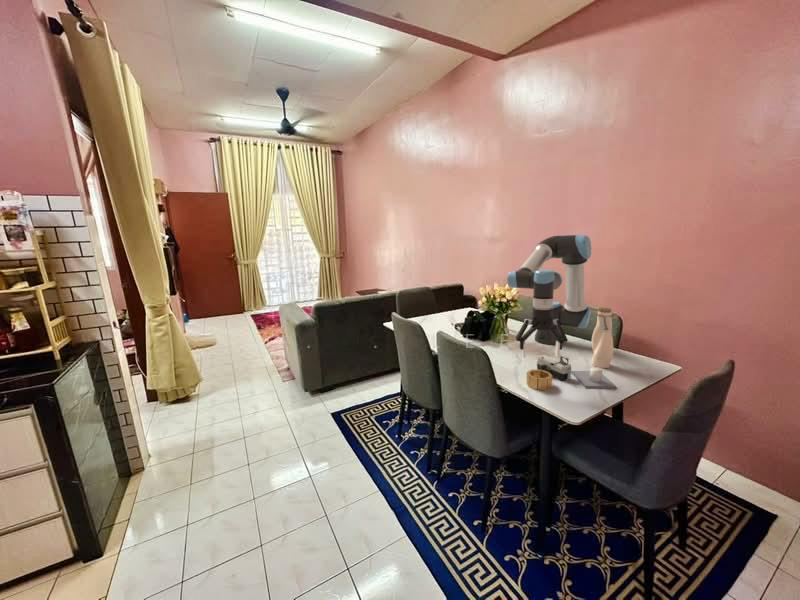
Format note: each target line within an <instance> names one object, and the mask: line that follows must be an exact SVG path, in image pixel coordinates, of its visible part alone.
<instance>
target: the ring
mask: <svg viewBox="0 0 800 600" xmlns="http://www.w3.org/2000/svg"><path fill="white" fill-rule="evenodd" d="M553 379H554V378H553V376H552V375H551V373H549V372H547V371H544V370H538V369H529V370H528V371H526V381H525V382H526V385H527V387H529V388H530V389H533V390H536V391H549V390H551V389H552V388H553Z"/></svg>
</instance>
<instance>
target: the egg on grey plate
mask: <svg viewBox="0 0 800 600" xmlns="http://www.w3.org/2000/svg"><path fill="white" fill-rule="evenodd" d="M589 369H590V370H571V375H572V376H573V377H575V379H576V380H577V381H578V382H579V383H580V384H581V385H582V386H583V387H584V389H617V385H616V384H614V382H612V381H611V380H610V379H609V378H608V377H606V376H605V375H604V374H603V369H602V368H600V367H590V368H589Z"/></svg>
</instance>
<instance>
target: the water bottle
mask: <svg viewBox="0 0 800 600" xmlns="http://www.w3.org/2000/svg"><path fill="white" fill-rule="evenodd" d="M595 314H596V316H597V318H596V326H595V327H594V329H593V331H592V336H591V346H592V352H593V354H592V358H591V362H590V363H591V366H593V367H595V368H599V369H608V368H610V367H611V361H612V359H613V357H614V340H613V338H614V337H613V334H612V333H613V320H612V318H613V317H615V315H614V314H613V313H612V308H609V307H599V308H598V310H597V312H596V313H595Z"/></svg>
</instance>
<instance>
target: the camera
mask: <svg viewBox="0 0 800 600" xmlns="http://www.w3.org/2000/svg"><path fill="white" fill-rule="evenodd" d="M564 359H565V360H564ZM569 359H570V358H569V357H567V356H564V355H559V359H558V358H554V357H551V356H550V355H547V354H546V355H545V354H543V355H539V356H537V360H536V370H544V371H547V372H549V373H551V375H552V376H553V378H552V379H556V380H558V381H560V382H565V381H568V380H569V379H571V375H572V373H571V371H572V364H571V363H569V361H570V360H569Z"/></svg>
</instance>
